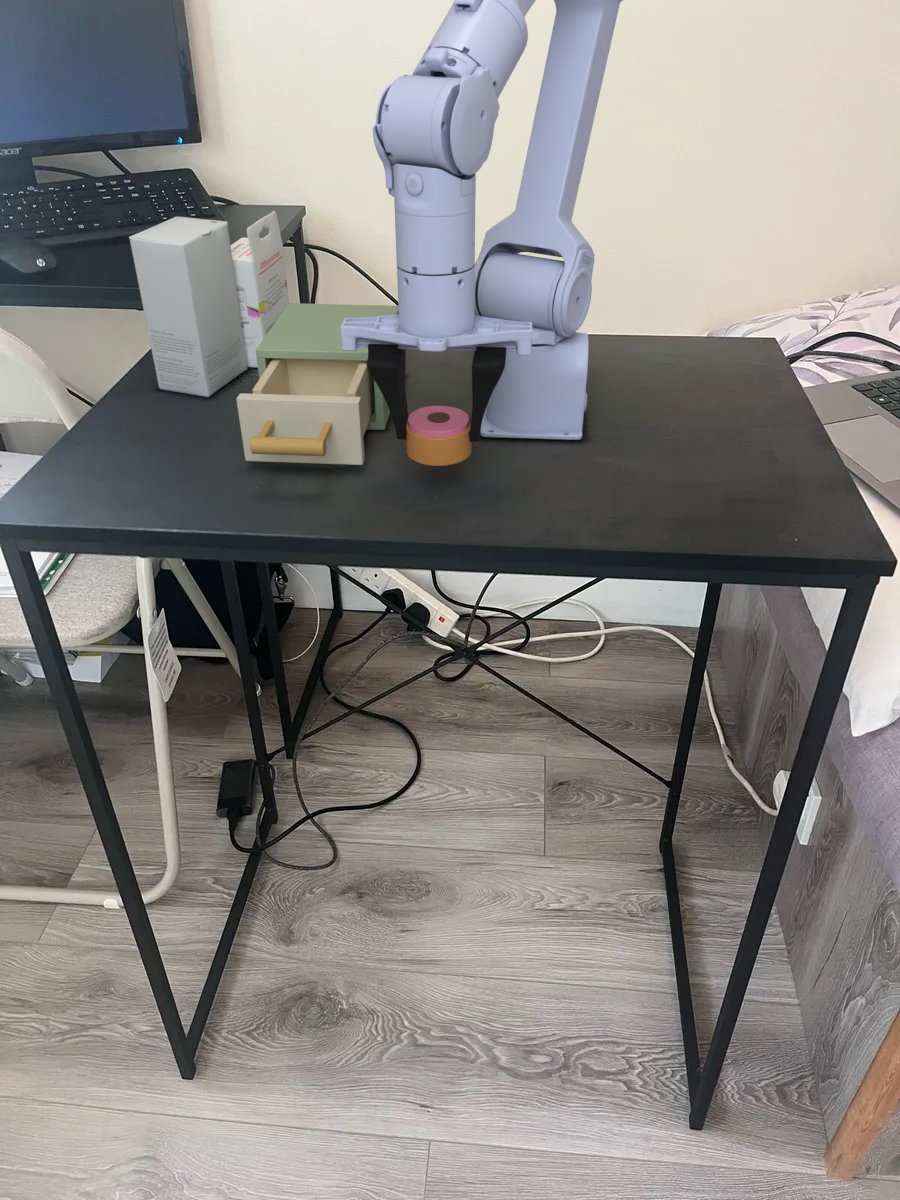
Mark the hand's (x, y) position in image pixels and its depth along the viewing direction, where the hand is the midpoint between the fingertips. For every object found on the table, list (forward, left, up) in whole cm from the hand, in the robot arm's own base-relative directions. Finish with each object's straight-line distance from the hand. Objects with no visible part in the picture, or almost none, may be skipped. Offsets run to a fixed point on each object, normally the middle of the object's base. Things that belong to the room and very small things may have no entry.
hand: (438, 435), depth 74 cm
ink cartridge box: (+23, -30, -5) cm, 38 cm away
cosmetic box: (+27, -22, -5) cm, 35 cm away
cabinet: (+12, -18, -5) cm, 22 cm away
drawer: (+12, -6, -4) cm, 14 cm away
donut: (0, 0, -1) cm, 1 cm away
